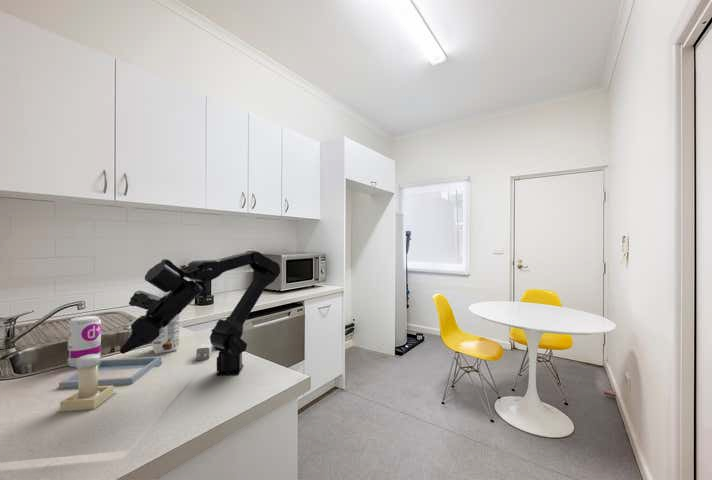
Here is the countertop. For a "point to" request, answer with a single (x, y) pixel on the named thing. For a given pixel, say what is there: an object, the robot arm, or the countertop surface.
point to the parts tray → (117, 364)
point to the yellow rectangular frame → (86, 400)
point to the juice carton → (167, 338)
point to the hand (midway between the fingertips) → (127, 346)
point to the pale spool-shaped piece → (88, 376)
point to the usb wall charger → (204, 351)
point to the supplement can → (83, 337)
